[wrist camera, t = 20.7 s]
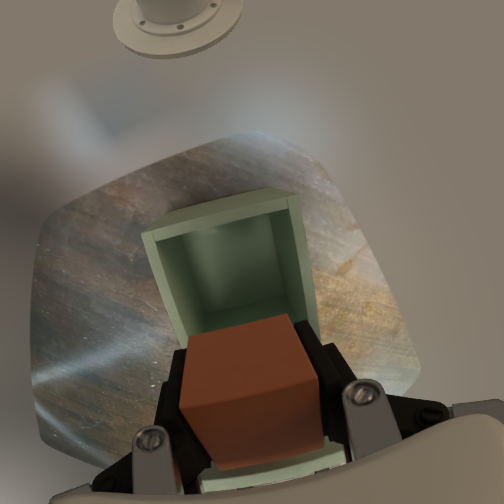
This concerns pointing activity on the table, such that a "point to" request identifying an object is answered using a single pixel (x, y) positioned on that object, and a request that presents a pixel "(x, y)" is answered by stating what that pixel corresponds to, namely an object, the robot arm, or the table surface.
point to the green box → (233, 262)
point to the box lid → (273, 469)
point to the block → (251, 394)
